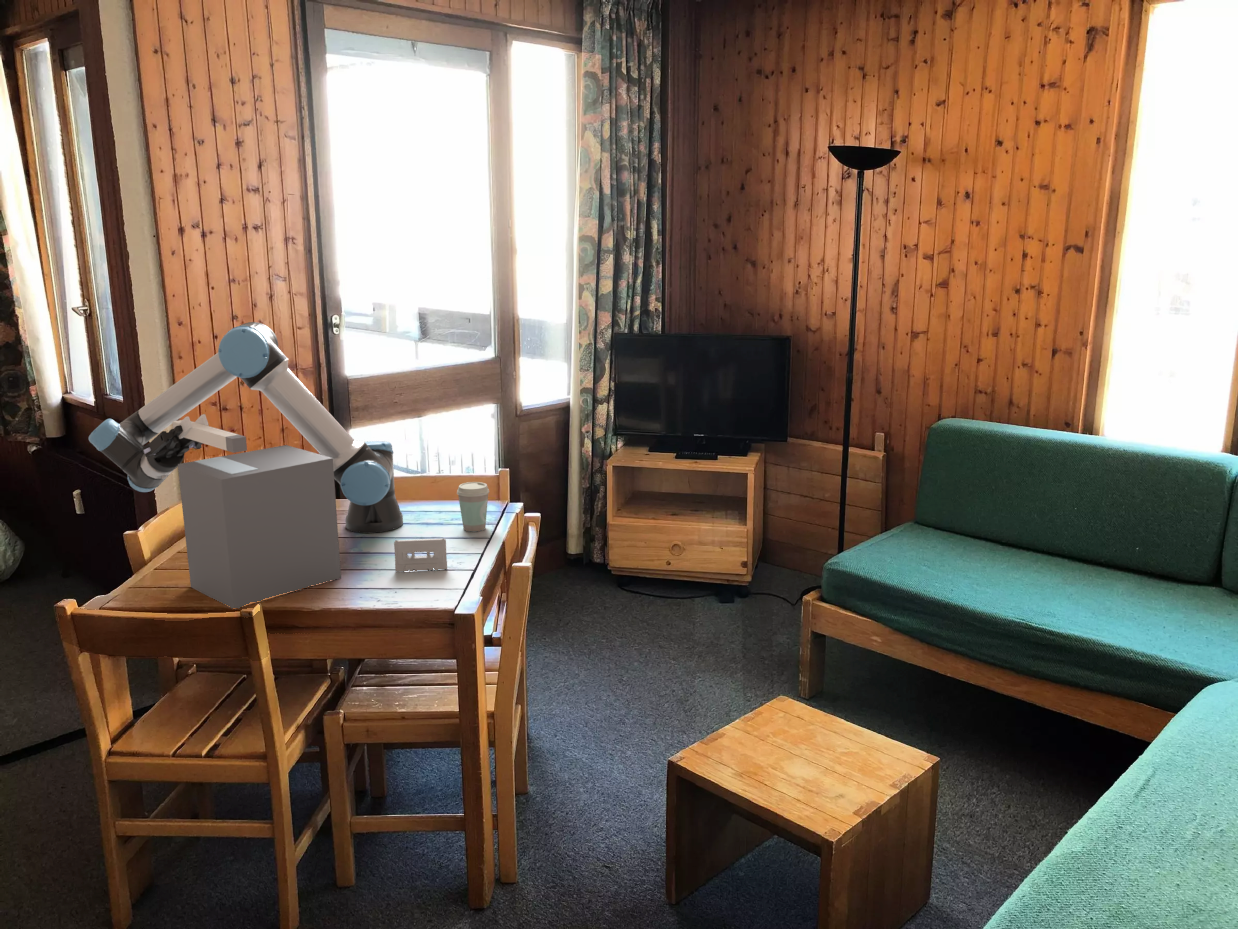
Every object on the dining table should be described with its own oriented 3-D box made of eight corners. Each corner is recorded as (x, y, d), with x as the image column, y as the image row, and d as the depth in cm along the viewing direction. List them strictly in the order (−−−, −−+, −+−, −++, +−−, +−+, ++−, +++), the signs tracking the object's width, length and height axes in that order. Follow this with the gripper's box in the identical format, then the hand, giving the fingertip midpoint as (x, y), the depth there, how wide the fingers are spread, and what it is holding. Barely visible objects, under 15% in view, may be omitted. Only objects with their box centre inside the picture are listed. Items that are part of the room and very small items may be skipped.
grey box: (190, 587, 225) (177, 463, 218) (295, 559, 244) (286, 444, 237) (233, 609, 212) (221, 479, 205) (341, 578, 230) (332, 457, 224)
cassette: (395, 573, 234) (393, 542, 232) (395, 570, 236) (394, 539, 234) (447, 571, 236) (445, 540, 234) (447, 568, 237) (446, 537, 236)
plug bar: (173, 434, 228) (172, 421, 228) (186, 432, 231) (185, 419, 230) (233, 452, 210) (232, 438, 209) (247, 450, 212) (245, 436, 212)
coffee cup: (484, 534, 263) (483, 490, 260) (453, 532, 264) (451, 488, 262) (494, 525, 271) (493, 482, 268) (464, 523, 273) (463, 480, 270)
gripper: (200, 466, 244) (236, 431, 228) (133, 478, 232) (166, 442, 216) (190, 438, 245) (226, 400, 229) (123, 449, 233) (155, 410, 217)
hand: (197, 421), depth 223 cm, fingers closed on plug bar, 3 cm apart
